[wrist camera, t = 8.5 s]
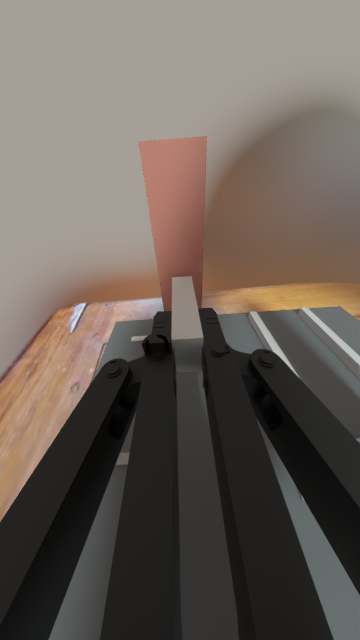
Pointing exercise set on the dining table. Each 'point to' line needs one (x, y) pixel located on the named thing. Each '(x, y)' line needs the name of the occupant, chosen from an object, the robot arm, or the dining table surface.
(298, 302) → the dining table surface
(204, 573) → the console
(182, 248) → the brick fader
